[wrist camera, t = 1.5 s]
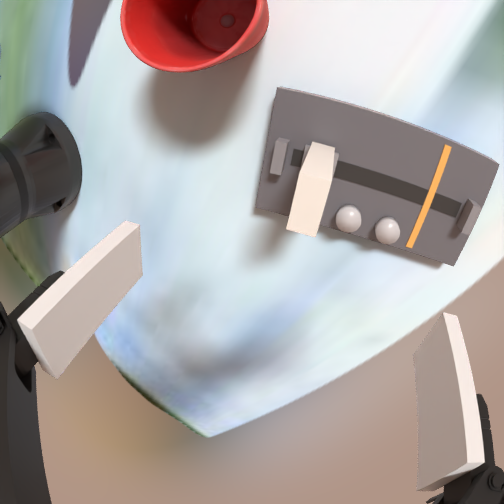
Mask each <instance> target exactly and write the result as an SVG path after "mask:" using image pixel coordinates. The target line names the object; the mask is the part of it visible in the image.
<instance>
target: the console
mask: <svg viewBox="0 0 504 504" xmlns="http://www.w3.org/2000/svg"><path fill="white" fill-rule="evenodd" d="M312 142H316V143H320V144H324V145H327V146H331V147H335V152H336V153H339V157H338V161H337V164H336V168H335V172H334V175H333V179H332V183H331V186H330V189H329V193H328V197H327V200H326V204H325V207H324V211H323V214H322V217H321V221H320V224H319V225H322V226H326V227H329V228H333V229H336V230H340V231H343V232H346V233H350V234H353V235H357V236H360V237H363V238H367V239H370V240H373V241H376V242H380V243H383V244H386V245H389V246H393V247H396V248H399V249H402V250H405V251H408V252H412V253H415V254H418V255H421V256H424V257H427V258H430V259H433V260H436V261H439V262H442V263H445V264H448V265H451V266H454V265H455V263H456V261H457V259H458V257H459V255H460V253H461V251H462V249H463V247H464V245H465V243H466V241H467V239H468V237H469V235H470V233H471V231H472V229H473V227H474V225H475V223H476V221H477V218H478V216H479V214H480V212H481V209H482V207H483V205H484V203H485V200H486V198H487V195H488V193H489V190H490V188H491V186H492V183H493V180H494V178H495V175H496V173H497V170H498V167H499V164H498V163H497V162H496V161H494V160H493V159H492V158H490V157H488V156H486V155H484V154H482V153H480V152H478V151H475V150H473V149H471V148H469V147H467V146H465V145H463V144H460V143H458V142H456V141H454V140H451V139H449V138H447V137H444V136H442V135H440V134H437V133H435V132H432V131H430V130H427V129H425V128H422V127H420V126H417V125H414V124H412V123H409V122H406V121H403V120H401V119H398V118H395V117H392V116H389V115H386V114H383V113H380V112H377V111H374V110H371V109H367V108H364V107H361V106H358V105H354V104H351V103H347V102H344V101H340V100H336V99H332V98H328V97H325V96H321V95H316V94H312V93H308V92H304V91H299V90H294V89H290V88H285V87H278V88H277V91H276V97H275V102H274V107H273V113H272V118H271V124H270V129H269V135H268V140H267V146H266V151H265V157H264V162H263V168H262V174H261V179H260V185H259V190H258V196H257V201H256V208H260V209H264V210H268V211H271V212H275V213H279V214H283V215H286V216H289V215H290V211H291V207H292V203H293V198H294V194H295V190H296V186H297V181H298V177H299V172H300V168H301V164H302V159H303V155H304V150H305V146H306V145H310V146H311V144H312Z"/></svg>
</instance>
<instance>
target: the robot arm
mask: <svg viewBox="0 0 504 504" xmlns="http://www.w3.org/2000/svg"><path fill="white" fill-rule="evenodd" d="M0 57H1V45H0ZM0 79H1V76H0ZM80 183H81V162H80V156H79V152H78V148H77V145H76V143H75V140H74V138H73V136H72V134H71V132H70V131H69V129H68V128H67V126H66V125H65V124H64V123H63V121H62V120H60V119H59V118H58V117H57V116H55V115H53V114H51V113H48V112H40V113H36V114H33V115H31V116H28V117H26V118H24V119H23V120H21V121H20V122H19V123H18V124H16V125H15V126H14V127H13V128H12V129H11V130H10V131H8V132H7V133H6V134H5V135H4V136H3V137H2V138H1V139H0V238H1V237H3V236H4V235H5V234H7V233H8V232H9V231H10V230H12V229H13V228H14V227H16V226H17V225H18V224H20V223H21V222H23V221H24V220H26V219H29V218H34V217H38V216H43V215H47V214H52V213H55V212H58V211H60V210H61V209H63V208H64V207H66V206H67V205H69V204H70V203H71V202H72V201H73V200H74V199H75V198H76V196H77V194H78V191H79V188H80ZM142 275H143V273H142V258H141V240H140V225H139V224H135V223H132V222H129V221H124V222H123V223H122V224H121V225H119V226H118V227H117V228H116V229H115V230H113V231H112V232H111V233H110V234H109V235H107V236H106V237H105V238H104V239H103V240H101V241H100V242H99V243H98V244H97V245H96V246H94V247H93V248H92V249H91V250H90V251H89V252H88V253H86V254H85V255H84V256H83V257H82V258H81V259H80V260H79V261H77V262H76V263H75V264H74V265H73V266H72V267H71V268H70V269H69V270H68V271H66V272H63V271H59V272H57V273H55V274H53V275H51V276H49V277H48V278H47V279H46V280H45V281H43V282H42V283H41V284H40V286H38V287H37V288H36V289H35V290H34V291H33V293H31V294H30V295H29V296H28V297H27V298H26V299H25V300H23V301H22V302H21V303H20V304H19V306H17V307H16V308H15V310H13V311H12V312H11V313H10V314H9V315H8V316H7V313H6V311H5V309H4V307H3V305H2V303H1V302H0V504H52V503H51V500H50V494H49V490H48V485H47V480H46V475H45V469H44V463H43V456H42V450H41V443H40V433H39V424H38V411H37V395H36V371H35V367H34V365H35V364H36V363H37V362H39V364H40V365H41V367H42V369H43V370H44V371H45V372H47V373H48V374H50V375H51V376H53V377H54V378H56V379H58V378H59V376H61V374H62V373H63V372H64V370H65V369H66V368H67V366H68V365H69V363H71V361H72V360H73V359H74V357H75V356H76V355H77V354H78V352H79V351H80V350H81V348H82V347H83V346H84V345H85V343H86V342H87V341H88V340H89V338H90V337H91V336H92V335H93V333H94V332H95V331H96V330H97V329H98V327H99V326H100V325H101V324H102V322H103V321H104V320H105V319H106V318H107V316H108V315H109V314H110V313H111V312H112V310H113V309H114V308H115V307H116V306H117V304H118V303H119V302H120V301H121V300H122V299H123V297H124V296H125V295H126V294H127V293H128V292H129V290H130V289H131V288H132V287H133V286H134V285H135V283H136V282H137V281H138V280H139V279H140V278H141V277H142ZM413 357H414V368H415V378H416V393H417V414H418V475H417V477H418V478H417V491H434V490H437V489H439V488H440V487H443V486H444V492H443V493H441V494H439V495H437V496H435V497H432V498H430V499H429V500H428V501H427V502H426V503H427V504H428V503H430V502H433V501H434V502H433V504H504V472H503V470H502V469H501V468H499V467H498V466H495V461H494V451H493V442H492V434H491V430H490V421H489V420H488V419H489V415H488V408H487V405H486V403H485V401H484V399H483V397H482V395H481V394H476V392H475V387H474V382H473V377H472V372H471V368H470V363H469V359H468V355H467V351H466V347H465V343H464V339H463V335H462V332H461V328H460V325H459V321H458V318H457V316H455V315H451V314H448V313H444V312H443V313H442V315H441V316H440V318H439V319H438V321H437V322H436V324H435V325H434V326H433V328H432V329H431V331H430V332H429V334H428V335H427V336H426V338H425V339H424V341H423V342H422V343H421V345H420V346H419V348H418V349H417V350H416V351H415V353H414V354H413Z"/></svg>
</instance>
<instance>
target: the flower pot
mask: <svg viewBox="0 0 504 504" xmlns="http://www.w3.org/2000/svg"><path fill="white" fill-rule="evenodd" d="M120 20H121V29H122V33H123V36H124V39H125V41H126V44H127V45H128V47H129V49H130V50H131V51H132V52H133V54H134V55H135V56H136V57H137V58H138V59H140V60H141V61H142V62H144V63H145V64H147V65H149V66H151V67H153V68H156V69H159V70H162V71H168V72H179V73H181V72H193V71H198V70H202V69H205V68H209V67H212V66H214V65H217V64H220V63H222V62H224V61H227V60H229V59H231V58H233V57H235V56H237V55H239V54H242V53H244V52H246V51H248V50H250V49H251V48H253V47H254V46H255V45H256V44H257V43H258V42H259V41H260V40H261V39H262V37H263V36H264V34H265V32H266V30H267V27H268V23H269V11H268V4H267V0H123V3H122V8H121V16H120Z"/></svg>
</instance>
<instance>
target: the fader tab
mask: <svg viewBox="0 0 504 504" xmlns="http://www.w3.org/2000/svg"><path fill="white" fill-rule="evenodd" d="M338 157H339V153H336V152H335V147H331V146H327V145H324V144H320V143H316V142H312V144H311V146H310V145H306V146H305V150H304V155H303V159H302V164H301V168H300V172H299V177H298V181H297V186H296V190H295V194H294V198H293V203H292V207H291V211H290V215H289V219H288V223H287V228H286V229H287V230H291V231H294V232H298V233H302V234H305V235H309V236H312V237H316V234H317V231H318V227H319V224H320V221H321V217H322V214H323V211H324V207H325V204H326V200H327V197H328V193H329V189H330V186H331V183H332V179H333V175H334V172H335V168H336V164H337V161H338Z"/></svg>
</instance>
